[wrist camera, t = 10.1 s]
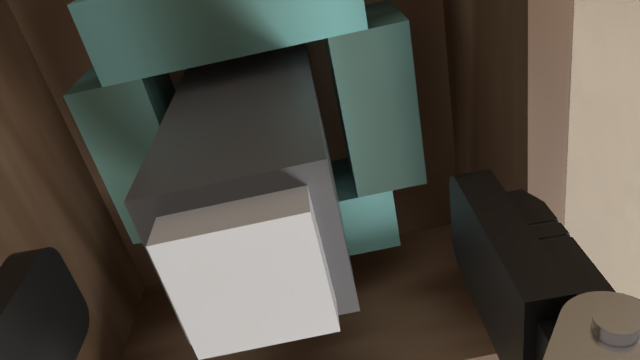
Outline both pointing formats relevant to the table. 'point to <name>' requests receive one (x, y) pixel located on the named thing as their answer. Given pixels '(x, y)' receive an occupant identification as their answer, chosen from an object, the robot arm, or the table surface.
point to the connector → (245, 207)
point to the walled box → (341, 134)
